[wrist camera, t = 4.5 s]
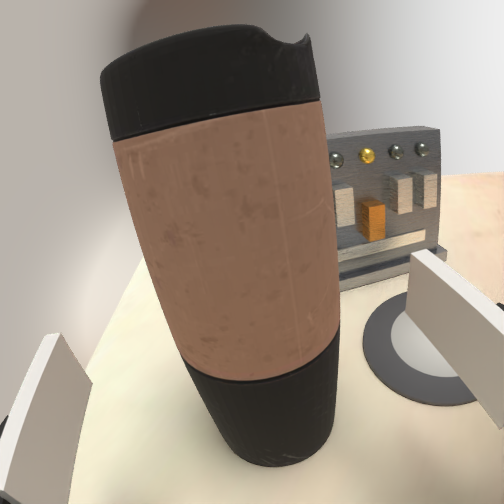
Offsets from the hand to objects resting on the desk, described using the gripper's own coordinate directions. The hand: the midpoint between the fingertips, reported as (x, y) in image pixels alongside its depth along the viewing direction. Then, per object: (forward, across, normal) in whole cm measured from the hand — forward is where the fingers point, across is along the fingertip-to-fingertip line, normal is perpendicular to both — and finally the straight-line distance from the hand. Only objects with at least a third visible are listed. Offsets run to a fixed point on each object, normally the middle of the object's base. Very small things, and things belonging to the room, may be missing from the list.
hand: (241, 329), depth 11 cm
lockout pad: (+5, +14, -11) cm, 19 cm away
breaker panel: (+17, +14, -11) cm, 25 cm away
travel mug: (+3, +1, -11) cm, 11 cm away
